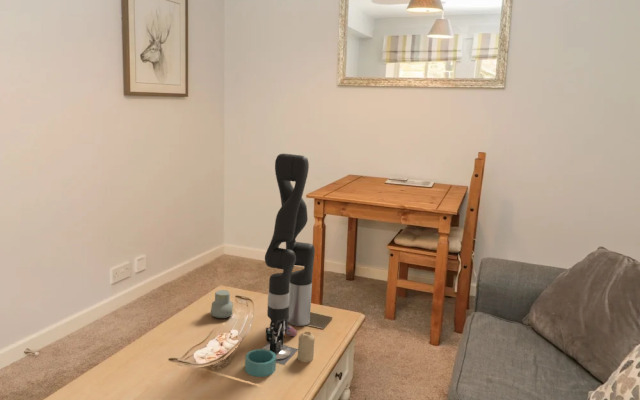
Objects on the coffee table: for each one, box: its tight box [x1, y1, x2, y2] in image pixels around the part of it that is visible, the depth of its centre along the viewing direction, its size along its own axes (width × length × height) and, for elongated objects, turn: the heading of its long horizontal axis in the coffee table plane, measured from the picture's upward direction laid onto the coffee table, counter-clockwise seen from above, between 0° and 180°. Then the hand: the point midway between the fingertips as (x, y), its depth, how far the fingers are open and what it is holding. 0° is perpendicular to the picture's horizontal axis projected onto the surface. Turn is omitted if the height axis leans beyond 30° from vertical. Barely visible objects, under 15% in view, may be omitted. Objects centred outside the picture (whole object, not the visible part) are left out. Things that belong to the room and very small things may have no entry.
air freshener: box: [210, 289, 234, 319], centre depth 212 cm, size 11×8×10 cm
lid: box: [262, 337, 291, 360], centre depth 184 cm, size 10×10×5 cm
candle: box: [297, 331, 315, 363], centre depth 181 cm, size 6×6×10 cm
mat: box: [261, 342, 298, 366], centre depth 185 cm, size 12×12×1 cm
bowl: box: [244, 348, 277, 378], centre depth 174 cm, size 10×10×5 cm
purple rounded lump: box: [274, 324, 298, 338], centre depth 198 cm, size 10×5×7 cm, turn 68°
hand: (276, 347), depth 184 cm, fingers open, 5 cm apart
